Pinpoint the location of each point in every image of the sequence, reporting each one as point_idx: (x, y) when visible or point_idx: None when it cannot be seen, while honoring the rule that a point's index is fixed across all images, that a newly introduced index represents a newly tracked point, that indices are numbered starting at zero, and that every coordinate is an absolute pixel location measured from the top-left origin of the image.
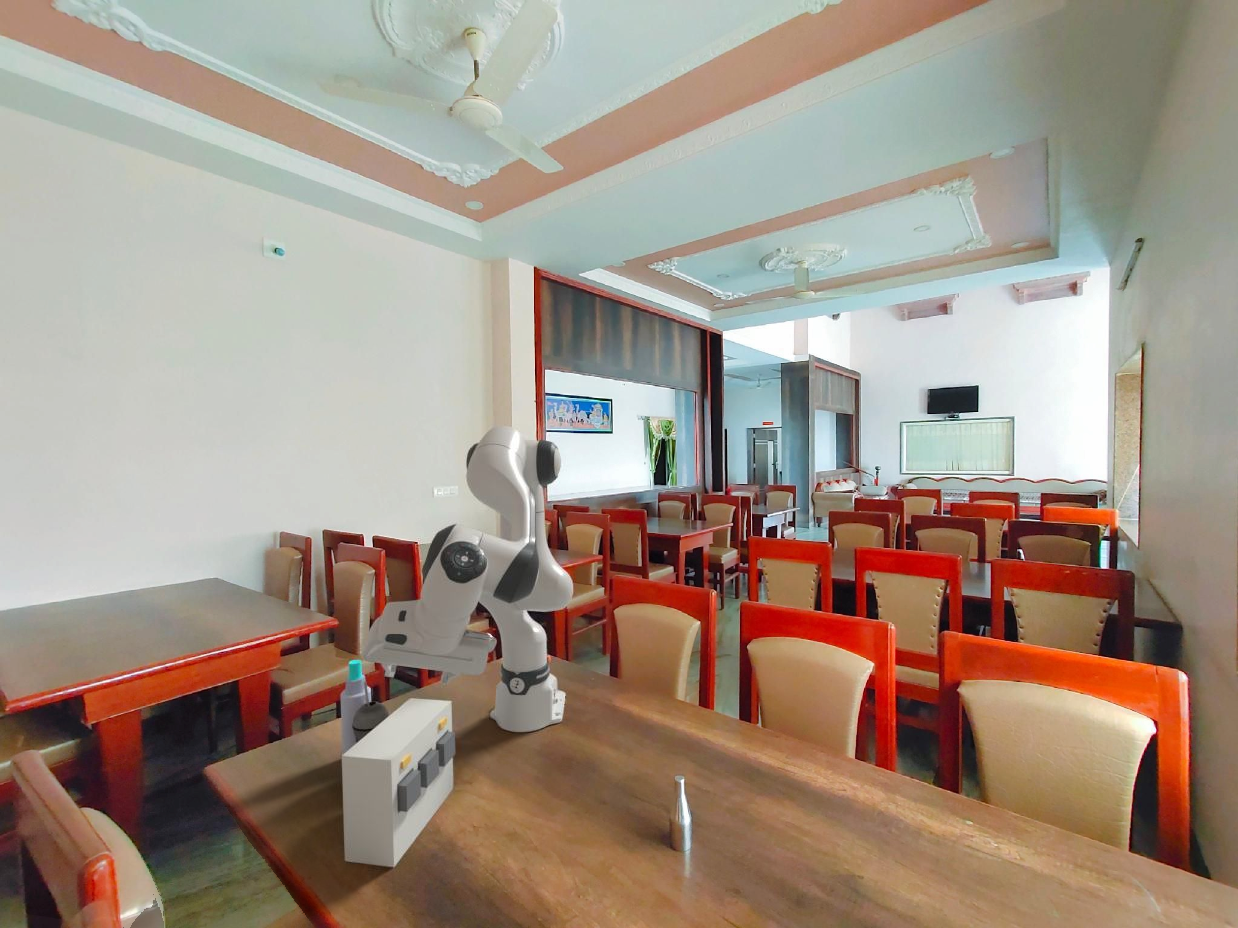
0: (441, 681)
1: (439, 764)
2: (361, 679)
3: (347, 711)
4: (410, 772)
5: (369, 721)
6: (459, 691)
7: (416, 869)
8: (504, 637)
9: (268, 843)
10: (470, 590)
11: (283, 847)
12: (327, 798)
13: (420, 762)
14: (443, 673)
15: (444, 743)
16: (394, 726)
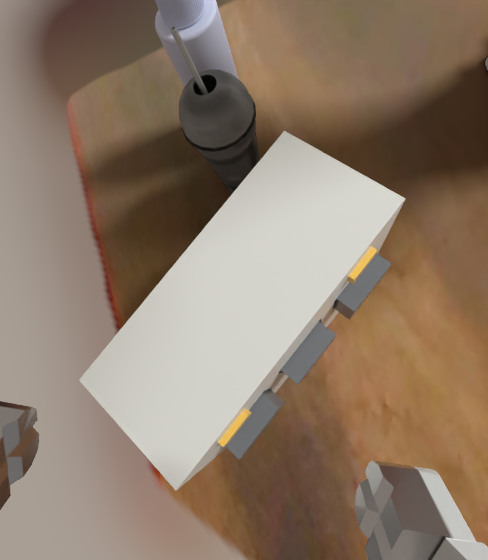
0: (361, 526)
1: (339, 311)
2: None
3: (177, 66)
4: (256, 403)
5: (205, 135)
6: None
7: (275, 458)
8: None
9: (107, 280)
10: None
11: (121, 299)
12: (179, 212)
13: (285, 370)
14: (389, 541)
15: (355, 308)
16: (217, 286)
